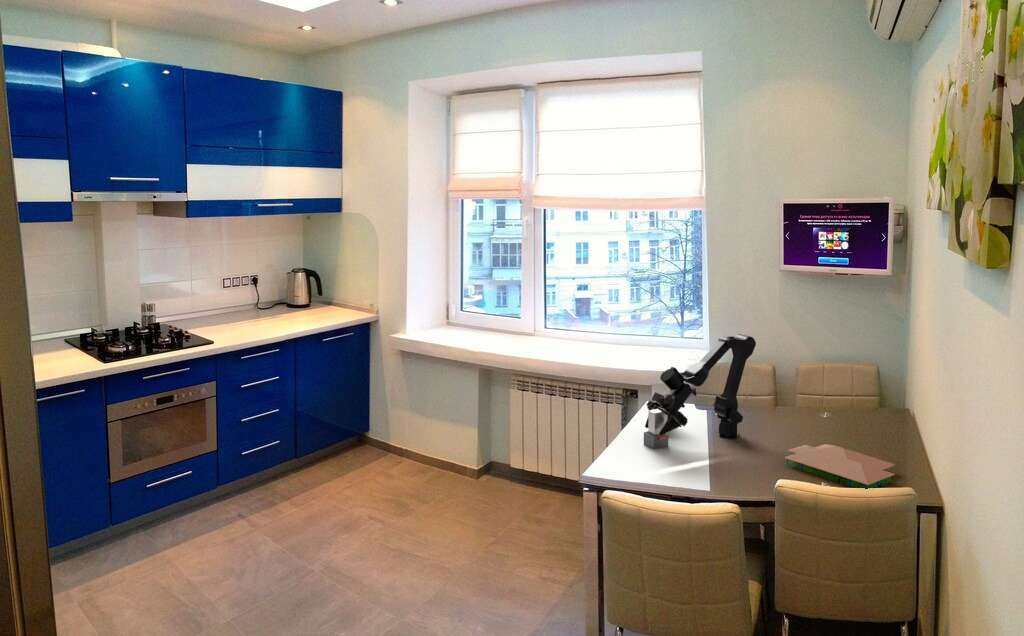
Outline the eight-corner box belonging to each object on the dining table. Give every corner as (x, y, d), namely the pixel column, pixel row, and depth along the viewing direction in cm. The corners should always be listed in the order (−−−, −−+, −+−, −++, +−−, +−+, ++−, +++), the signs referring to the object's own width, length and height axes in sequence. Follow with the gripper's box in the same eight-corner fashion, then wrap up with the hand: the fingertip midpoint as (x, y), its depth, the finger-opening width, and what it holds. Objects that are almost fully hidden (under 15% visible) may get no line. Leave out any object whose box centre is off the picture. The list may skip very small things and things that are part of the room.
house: (817, 450, 264) (818, 429, 263) (908, 478, 237) (910, 454, 236) (776, 464, 252) (777, 441, 251) (867, 494, 225) (869, 469, 223)
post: (657, 443, 271) (657, 409, 269) (664, 446, 268) (664, 411, 266) (648, 444, 270) (648, 410, 268) (654, 448, 266) (654, 413, 264)
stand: (659, 443, 276) (659, 427, 275) (675, 450, 266) (675, 435, 266) (636, 447, 272) (636, 431, 271) (652, 455, 263) (652, 439, 262)
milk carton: (670, 432, 287) (670, 385, 284) (651, 432, 288) (651, 385, 286) (669, 427, 294) (670, 381, 291) (651, 426, 295) (652, 380, 292)
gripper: (650, 379, 275) (625, 411, 273) (681, 390, 258) (654, 424, 256) (668, 396, 280) (643, 428, 277) (699, 408, 263) (673, 443, 260)
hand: (652, 430), depth 267 cm, fingers open, 9 cm apart
